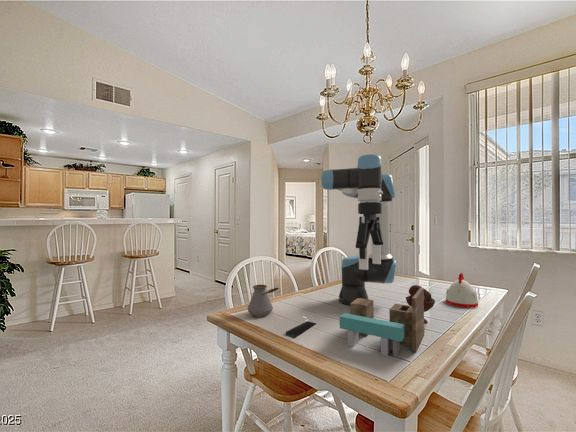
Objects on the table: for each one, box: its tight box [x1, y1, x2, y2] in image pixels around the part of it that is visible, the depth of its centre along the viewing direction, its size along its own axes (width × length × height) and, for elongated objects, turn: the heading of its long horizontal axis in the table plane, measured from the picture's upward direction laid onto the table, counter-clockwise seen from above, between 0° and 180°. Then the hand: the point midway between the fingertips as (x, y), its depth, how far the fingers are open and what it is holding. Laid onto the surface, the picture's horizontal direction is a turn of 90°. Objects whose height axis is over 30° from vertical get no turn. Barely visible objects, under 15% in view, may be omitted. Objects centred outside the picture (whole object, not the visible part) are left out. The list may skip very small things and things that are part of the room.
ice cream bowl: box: [405, 284, 436, 325], centre depth 120 cm, size 11×11×15 cm
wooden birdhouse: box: [389, 287, 425, 354], centre depth 99 cm, size 9×16×18 cm, turn 146°
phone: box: [285, 321, 317, 339], centre depth 111 cm, size 8×1×15 cm
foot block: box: [349, 298, 375, 338], centre depth 108 cm, size 6×8×12 cm
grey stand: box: [347, 330, 393, 357], centre depth 94 cm, size 13×5×6 cm, turn 56°
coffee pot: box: [247, 284, 280, 318], centre depth 127 cm, size 21×12×15 cm, turn 35°
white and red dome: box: [445, 272, 479, 309], centre depth 144 cm, size 14×14×15 cm
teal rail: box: [339, 312, 404, 358], centre depth 94 cm, size 20×4×9 cm, turn 56°
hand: (370, 266), depth 95 cm, fingers open, 13 cm apart
